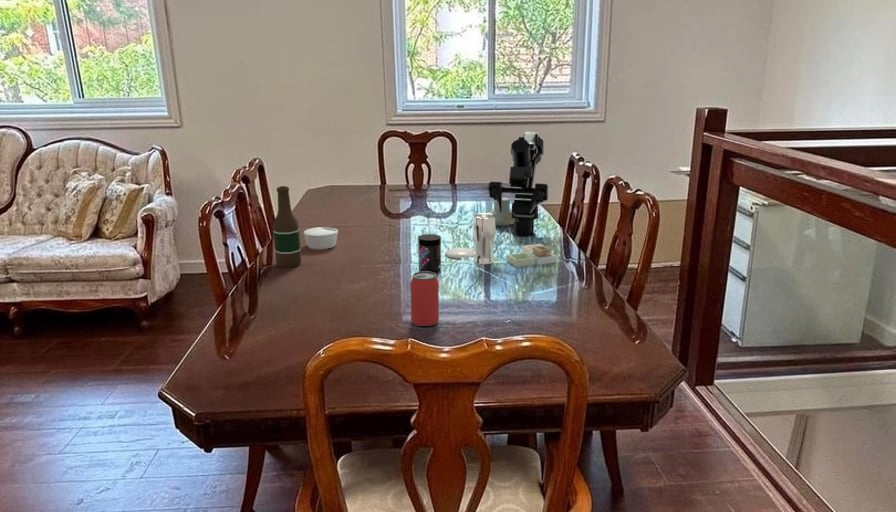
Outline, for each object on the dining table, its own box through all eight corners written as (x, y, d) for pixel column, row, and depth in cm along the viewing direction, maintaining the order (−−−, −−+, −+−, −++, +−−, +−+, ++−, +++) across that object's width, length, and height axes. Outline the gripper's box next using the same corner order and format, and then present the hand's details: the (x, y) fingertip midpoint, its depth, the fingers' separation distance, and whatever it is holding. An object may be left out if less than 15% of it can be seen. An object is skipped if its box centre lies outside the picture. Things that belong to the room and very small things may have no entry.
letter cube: (542, 257, 192) (542, 245, 191) (550, 261, 189) (551, 248, 188) (532, 259, 190) (532, 247, 189) (540, 263, 187) (541, 250, 186)
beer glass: (493, 266, 185) (494, 218, 181) (470, 265, 186) (471, 217, 182) (496, 260, 192) (497, 213, 187) (474, 258, 193) (474, 212, 188)
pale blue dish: (545, 257, 194) (545, 250, 193) (555, 263, 188) (556, 256, 187) (527, 260, 191) (527, 252, 191) (537, 266, 186) (537, 258, 185)
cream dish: (539, 251, 200) (539, 243, 200) (549, 256, 195) (550, 249, 194) (522, 253, 198) (522, 245, 197) (531, 258, 193) (532, 251, 192)
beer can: (410, 317, 149) (409, 270, 145) (437, 316, 149) (437, 269, 146) (411, 328, 142) (410, 280, 139) (439, 327, 143) (439, 279, 139)
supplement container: (419, 266, 185) (419, 233, 182) (442, 267, 185) (442, 234, 182) (417, 274, 179) (416, 240, 176) (440, 274, 178) (440, 240, 175)
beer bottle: (307, 261, 190) (301, 185, 183) (293, 269, 183) (286, 190, 176) (285, 259, 193) (279, 183, 185) (270, 266, 186) (263, 188, 178)
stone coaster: (469, 248, 203) (469, 246, 203) (481, 256, 195) (481, 255, 194) (441, 251, 200) (441, 250, 200) (452, 260, 191) (452, 258, 191)
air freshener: (499, 229, 227) (499, 202, 224) (483, 224, 233) (483, 199, 230) (519, 224, 234) (519, 198, 231) (503, 220, 240) (504, 195, 237)
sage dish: (524, 259, 192) (525, 252, 191) (534, 265, 186) (535, 258, 185) (506, 262, 189) (506, 254, 189) (516, 268, 184) (516, 260, 183)
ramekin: (345, 243, 209) (344, 228, 208) (325, 252, 200) (324, 237, 198) (318, 239, 214) (317, 225, 212) (298, 248, 204) (296, 233, 202)
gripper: (490, 155, 194) (482, 194, 186) (549, 157, 190) (544, 197, 182) (493, 178, 203) (486, 216, 196) (550, 180, 199) (545, 219, 191)
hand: (515, 212), depth 191 cm, fingers open, 9 cm apart
